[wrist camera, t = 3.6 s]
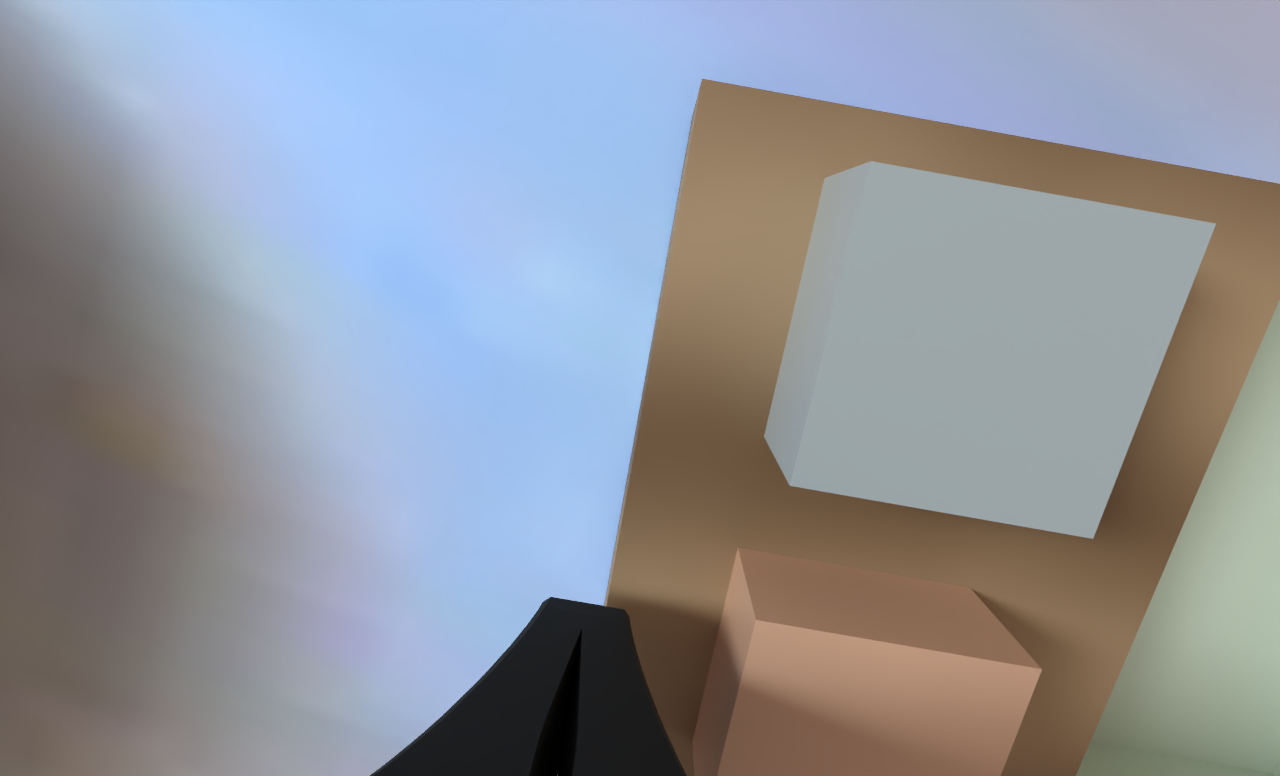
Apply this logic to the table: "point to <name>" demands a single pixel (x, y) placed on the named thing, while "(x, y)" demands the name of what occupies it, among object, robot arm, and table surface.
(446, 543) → the table surface
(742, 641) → the terracotta tile
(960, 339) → the slate tile
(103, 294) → the table surface
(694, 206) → the walnut board
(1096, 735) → the tray
